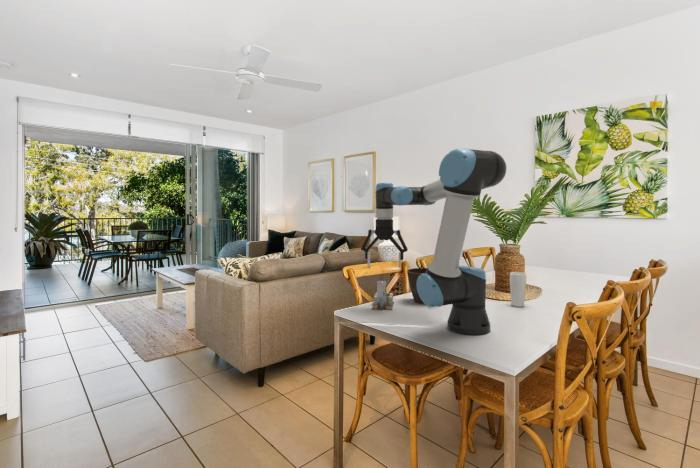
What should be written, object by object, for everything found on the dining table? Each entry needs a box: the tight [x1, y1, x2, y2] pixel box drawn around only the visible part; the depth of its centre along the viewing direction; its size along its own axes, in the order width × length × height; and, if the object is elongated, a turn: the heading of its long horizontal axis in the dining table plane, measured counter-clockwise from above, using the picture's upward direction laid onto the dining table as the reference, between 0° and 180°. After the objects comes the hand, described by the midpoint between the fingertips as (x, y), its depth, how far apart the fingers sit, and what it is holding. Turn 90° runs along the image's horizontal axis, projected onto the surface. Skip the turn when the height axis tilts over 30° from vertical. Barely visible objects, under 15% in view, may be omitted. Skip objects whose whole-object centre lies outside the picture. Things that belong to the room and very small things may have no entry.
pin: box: [376, 280, 387, 311], centre depth 160 cm, size 4×4×12 cm
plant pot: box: [406, 267, 427, 305], centre depth 171 cm, size 15×15×16 cm
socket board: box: [370, 292, 395, 311], centre depth 166 cm, size 15×9×5 cm, turn 169°
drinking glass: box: [509, 271, 527, 308], centre depth 166 cm, size 7×7×15 cm
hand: (384, 267), depth 161 cm, fingers open, 13 cm apart
